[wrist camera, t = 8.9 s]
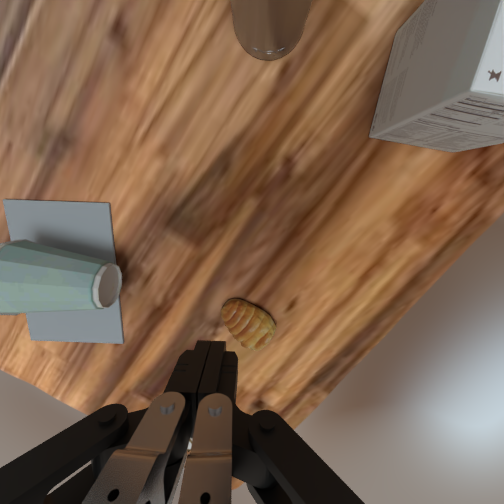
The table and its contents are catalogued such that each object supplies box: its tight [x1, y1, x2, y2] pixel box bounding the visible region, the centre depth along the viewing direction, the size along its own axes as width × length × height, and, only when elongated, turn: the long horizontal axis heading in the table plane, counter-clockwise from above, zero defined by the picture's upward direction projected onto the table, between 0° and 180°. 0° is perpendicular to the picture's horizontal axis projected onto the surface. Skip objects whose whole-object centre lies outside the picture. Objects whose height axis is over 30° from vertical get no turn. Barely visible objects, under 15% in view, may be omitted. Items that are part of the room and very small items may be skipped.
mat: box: [3, 199, 124, 344], centre depth 41 cm, size 24×16×1 cm, turn 178°
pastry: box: [221, 299, 276, 351], centre depth 41 cm, size 9×7×4 cm
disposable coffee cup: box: [0, 239, 122, 315], centre depth 35 cm, size 11×11×15 cm
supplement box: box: [369, 0, 504, 152], centre depth 26 cm, size 13×13×18 cm
